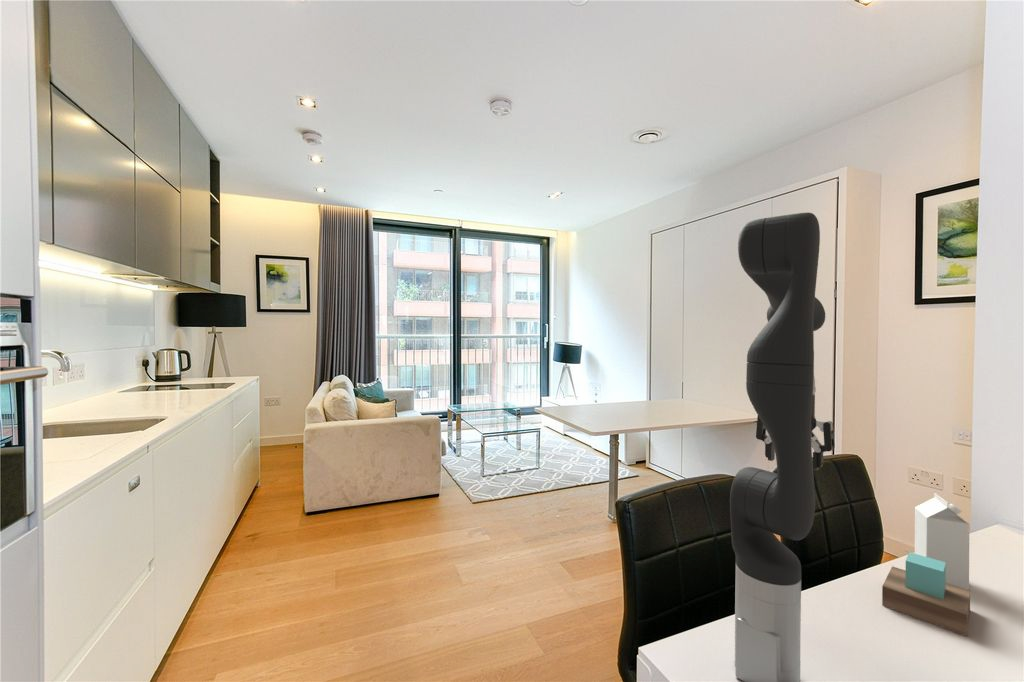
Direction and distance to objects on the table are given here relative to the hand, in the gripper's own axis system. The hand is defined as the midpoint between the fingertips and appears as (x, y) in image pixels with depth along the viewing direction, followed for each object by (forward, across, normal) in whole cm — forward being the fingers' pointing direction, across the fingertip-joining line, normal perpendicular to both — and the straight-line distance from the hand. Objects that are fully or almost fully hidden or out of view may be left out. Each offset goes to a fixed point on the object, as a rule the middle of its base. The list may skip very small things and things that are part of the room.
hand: (793, 464), depth 92 cm
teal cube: (+24, +20, +15) cm, 34 cm away
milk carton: (+28, +21, +32) cm, 47 cm away
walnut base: (+28, +20, +15) cm, 37 cm away
